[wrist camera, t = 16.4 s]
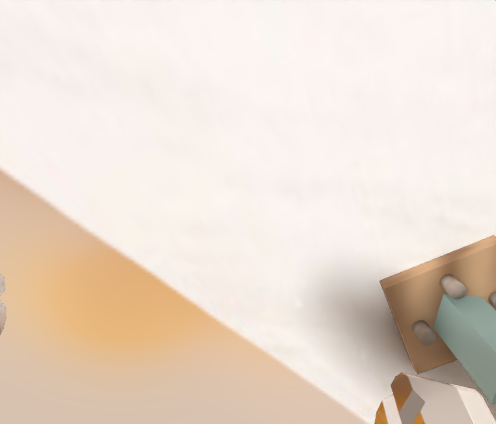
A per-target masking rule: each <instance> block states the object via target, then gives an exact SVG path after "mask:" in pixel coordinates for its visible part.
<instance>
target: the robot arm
mask: <svg viewBox="0 0 496 424" xmlns="http://www.w3.org/2000/svg"><path fill="white" fill-rule="evenodd" d="M4 291H5V282H4V277H3V276H2V275H0V295H1V294H2V293H3V292H4ZM5 320H6V307H5V306H4V305H3V303H2V302H1V301H0V334H1V333H2V331H3V329H4V325H5ZM391 388H392V392H393V395H392V396H390V397H388V398H386V399H384V400H382V402H381V404H380V406H379V408H378V410H377V412H376V418H375V424H496V421H495V419H494V417H493V415H492V414H491V412H490V410H489V408H488V406H487V404H486V403H485V401H484V399H483V397H482V395H481V394H480V393H478V392H477V391H476V390H475V389H471V388H467V387H462V386H458V385H454V384H447V383H444V382H439V381H435V380H431V379H427V378H423V377H418V376H414V375H410V374H406V373H402V372H401V373H400V374H398V375H397V376H396V377H395V379H394V380H393V382H392V384H391Z"/></svg>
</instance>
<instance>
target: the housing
mask: <svg viewBox="0 0 496 424" xmlns="http://www.w3.org/2000/svg"><path fill="white" fill-rule="evenodd" d="M380 284H381V286H382V289H383V291H384V294H385V296H386V299H387V301H388V304H389V307H390V309H391V312H392V314H393V317H394V319H395V322H396V325H397V327H398V330H399V332H400V335H401V337H402V340H403V343H404V345H405V348H406V350H407V353H408V355H409V358H410V360H411V363H412V365H413V367H414V369H415V370H416V372H417V374H419V373H422V372H425V371H428V370H430V369H433V368H436V367H439V366H441V365H444V364H447V363H450V362H452V361H455V360H458V359H457V358H456V357H455V355H454V354H453V353H452V351H451V350H450V349H449V347H448V346H447V345H446V343H445V342H444V341H443V339H442V338H441V337H440V335H439V334H438V333H437V331H436V330H435V329H434V323H435V320H436V317H437V314H438V310H439V307H440V304H441V301H442V297H443V294H449V295H450V297H451V298H453V299H460V298H462V297H464V296H478V297H482V298H483V299H484V300H485V301H487V302H488V303H489V304H490V305H491V306H492V307H493V308H494V309H495V310H496V237H495V236H494V235H493V236H491V237H488V238H486V239H483V240H481V241H478V242H476V243H473V244H471V245H468V246H466V247H463V248H461V249H458V250H456V251H453V252H451V253H448V254H446V255H443V256H441V257H438V258H436V259H433V260H431V261H428V262H426V263H423V264H421V265H418V266H416V267H413V268H411V269H408V270H406V271H403V272H401V273H398V274H396V275H393V276H391V277H388V278H386V279H383V280H381V281H380Z"/></svg>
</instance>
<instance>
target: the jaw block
mask: <svg viewBox="0 0 496 424" xmlns="http://www.w3.org/2000/svg"><path fill="white" fill-rule="evenodd" d="M434 329H435V330H436V331H437V333H438V334H439V335H440V337H441V338H442V339H443V341H444V342H445V343H446V345H447V346H448V347H449V349H450V350H451V351H452V353H453V354H454V355H455V357H456V358H457V359H458V361H459V362H460V363H461V365H462V366H463V367H464V369H465V370H466V371H467V373H468V374H469V375H470V377H471V378H472V379H473V381H474V382H475V383H476V385H477V386H478V387H479V389H480V390H481V391H482V393H483V394H484V395H485V397H486V398H487V399H488V401H489V402H490V403H491V404H496V310H495V309H494V308H493V307H492V306H491V305H490V304H489V303H488V302H487V301H485V300H484V299H483V298H482V297H478V296H464V297H462V298H460V299H453V298H451V297H450V295H449V294H443V297H442V301H441V304H440V307H439V310H438V314H437V317H436V320H435V323H434Z"/></svg>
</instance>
